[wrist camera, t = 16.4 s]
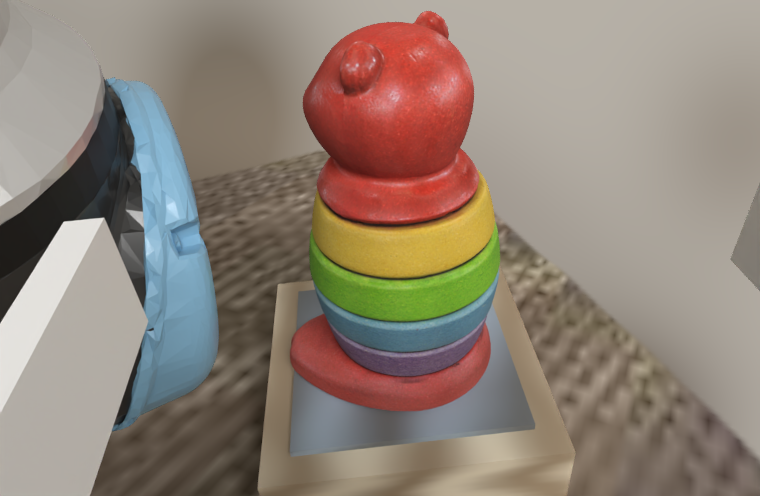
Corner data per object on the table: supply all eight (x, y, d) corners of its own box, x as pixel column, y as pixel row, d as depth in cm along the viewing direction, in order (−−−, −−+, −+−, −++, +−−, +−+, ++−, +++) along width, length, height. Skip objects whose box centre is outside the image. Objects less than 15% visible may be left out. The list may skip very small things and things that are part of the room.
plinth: (272, 532, 29) (255, 483, 27) (287, 326, 41) (276, 279, 39) (565, 499, 30) (576, 447, 27) (495, 304, 42) (498, 255, 39)
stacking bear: (400, 266, 39) (381, -18, 28) (533, 332, 33) (571, 6, 23) (275, 359, 33) (193, 42, 22) (411, 461, 27) (386, 95, 17)
